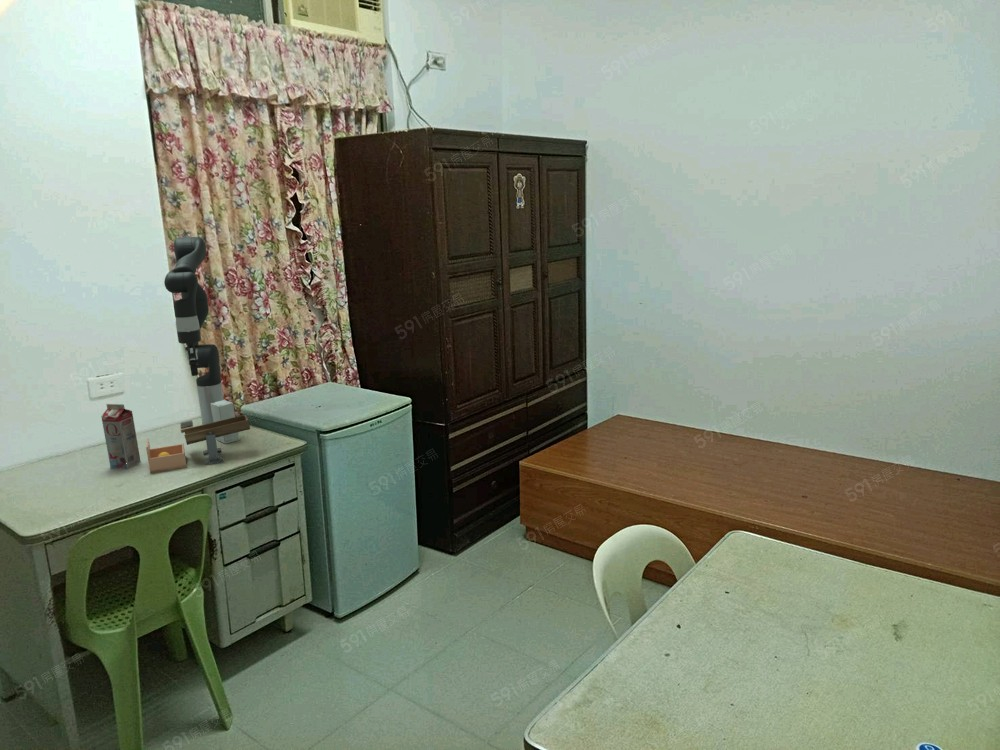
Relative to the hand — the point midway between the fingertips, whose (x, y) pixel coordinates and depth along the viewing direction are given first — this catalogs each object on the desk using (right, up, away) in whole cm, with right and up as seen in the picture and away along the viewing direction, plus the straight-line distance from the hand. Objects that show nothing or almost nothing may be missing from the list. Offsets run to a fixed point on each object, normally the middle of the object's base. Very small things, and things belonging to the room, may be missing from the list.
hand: (194, 373), depth 253 cm
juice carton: (-20, -32, -9) cm, 39 cm away
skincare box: (+7, -26, +14) cm, 30 cm away
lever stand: (+9, -30, -5) cm, 31 cm away
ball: (-5, -29, -12) cm, 32 cm away
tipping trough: (+9, -21, -2) cm, 22 cm away
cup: (-4, -32, -11) cm, 34 cm away
